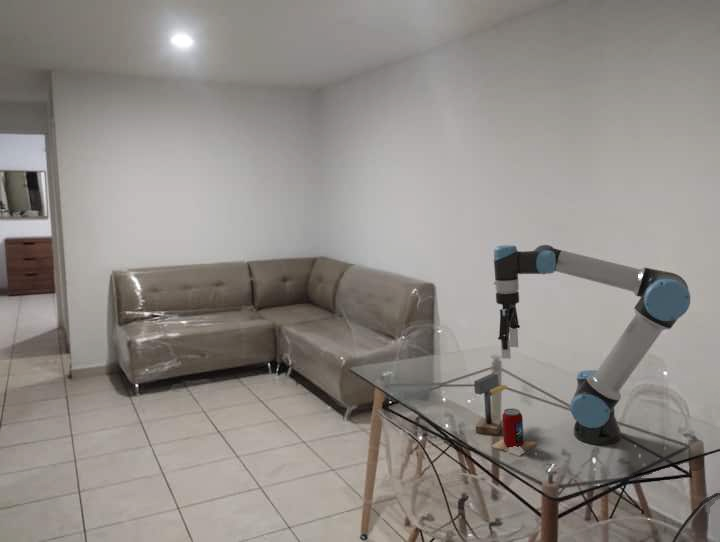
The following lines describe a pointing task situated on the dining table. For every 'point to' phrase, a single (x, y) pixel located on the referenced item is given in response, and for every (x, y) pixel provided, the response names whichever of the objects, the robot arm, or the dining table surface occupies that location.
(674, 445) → the dining table surface
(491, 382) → the t key
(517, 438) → the beverage can
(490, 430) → the latch housing
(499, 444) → the mat
